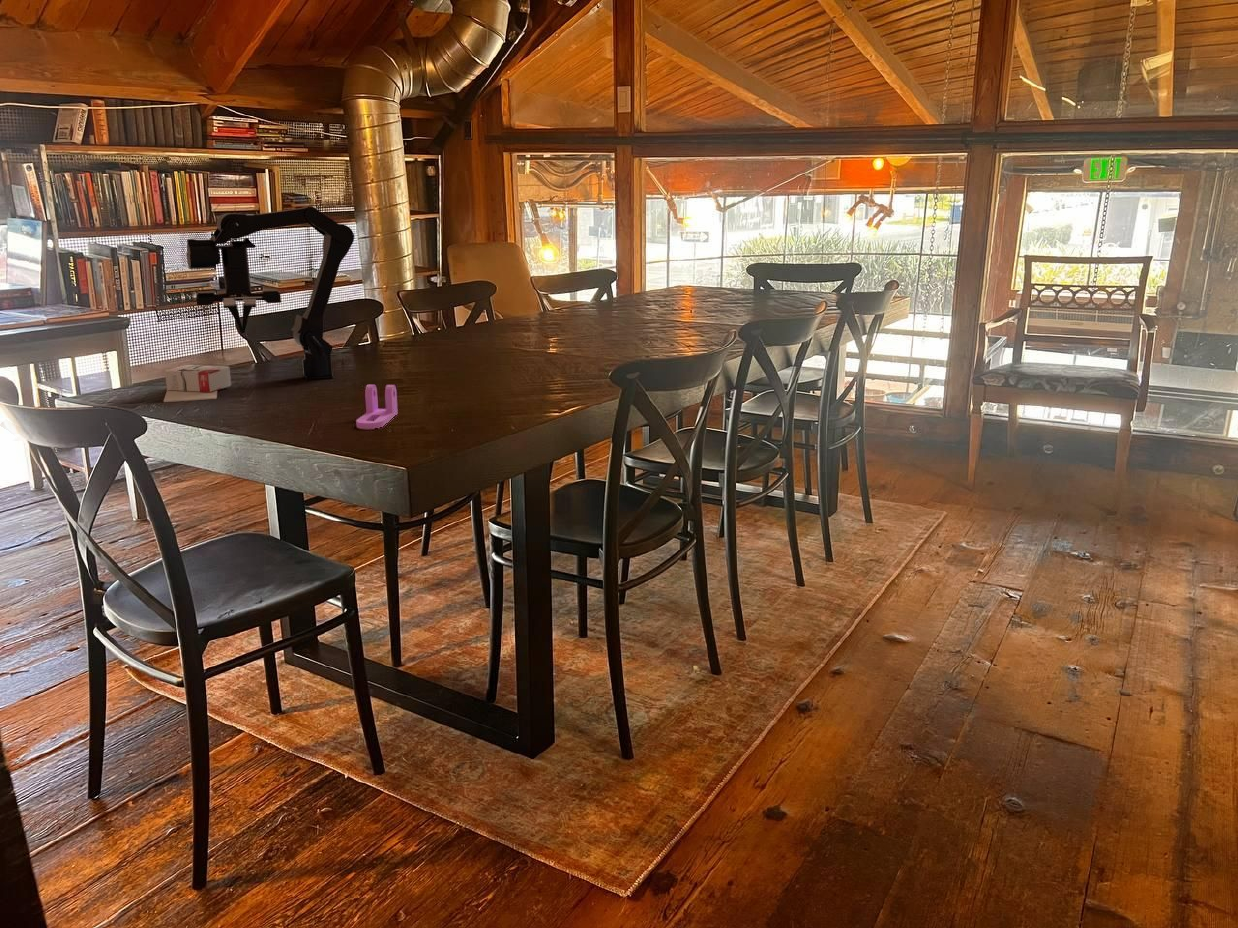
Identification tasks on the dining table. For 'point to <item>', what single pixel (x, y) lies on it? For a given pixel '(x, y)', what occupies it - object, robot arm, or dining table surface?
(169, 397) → the mat
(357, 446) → the dining table surface
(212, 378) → the ink box
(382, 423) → the bracket
